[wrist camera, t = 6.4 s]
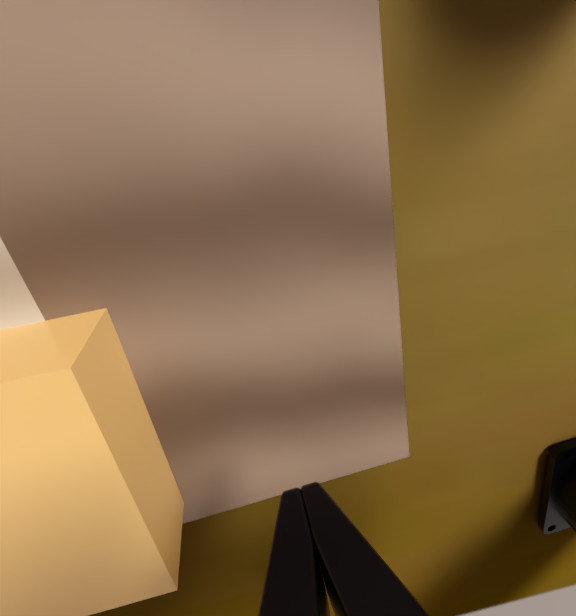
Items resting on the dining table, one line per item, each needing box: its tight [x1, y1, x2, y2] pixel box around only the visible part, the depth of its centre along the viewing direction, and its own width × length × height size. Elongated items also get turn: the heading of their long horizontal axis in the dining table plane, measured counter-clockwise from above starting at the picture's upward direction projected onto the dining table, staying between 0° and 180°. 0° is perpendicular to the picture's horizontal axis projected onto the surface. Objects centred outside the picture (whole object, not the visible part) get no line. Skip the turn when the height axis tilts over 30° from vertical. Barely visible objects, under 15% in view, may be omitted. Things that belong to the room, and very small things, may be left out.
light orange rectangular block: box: [0, 308, 184, 616], centre depth 11 cm, size 8×6×3 cm
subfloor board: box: [0, 0, 409, 524], centre depth 11 cm, size 20×18×2 cm
